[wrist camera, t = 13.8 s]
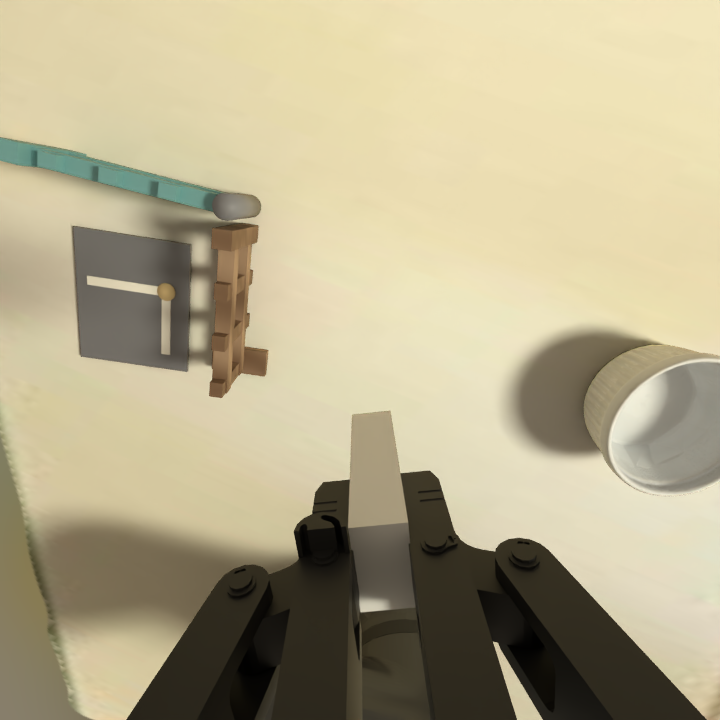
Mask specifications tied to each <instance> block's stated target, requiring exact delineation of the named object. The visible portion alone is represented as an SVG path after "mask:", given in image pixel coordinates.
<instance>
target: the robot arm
mask: <svg viewBox="0 0 720 720" xmlns="http://www.w3.org/2000/svg"><path fill="white" fill-rule="evenodd" d="M312 513H313V514H312V515H310V516H308V517H306V518H304V519H303V520H301V521H300V522H299V523H298V524H297V526H296V528H295V530H294V535H295V540H296V545H297V551H298V556H299V560H298V561H297V562H296V563H294V564H293V565H291V566H290V567H288V568H286V569H283V570H281V571H278V572H275V573H272V574H270V575H268V572H267V571H266V570H265V569H264V568H263V567H260V566H257V565H244V566H241V567H238V568H235V569H233V570H232V571H230V572H229V573H227V574H225V575H224V576H223V577H222V579H221V580H220V581H219V582H218V583H217V585H216V586H215V588H214V589H213V591H212V592H211V594H210V595H209V597H208V598H207V600H206V601H205V603H204V604H203V606H202V607H201V609H200V610H199V612H198V613H197V615H196V616H195V618H194V619H193V621H192V622H191V624H190V625H189V627H188V628H187V630H186V631H185V633H184V634H183V636H182V637H181V639H180V640H179V642H178V643H177V645H176V646H175V648H174V649H173V651H172V652H171V654H170V655H169V657H168V658H167V660H166V661H165V663H164V664H163V666H162V667H161V669H160V670H159V672H158V673H157V675H156V676H155V678H154V679H153V681H152V682H151V684H150V685H149V687H148V688H147V690H146V691H145V693H144V694H143V696H142V697H141V699H140V700H139V702H138V703H137V705H136V706H135V708H134V709H133V711H132V712H131V714H130V715H129V717H128V718H127V720H517V718H516V715H515V712H514V709H513V705H512V702H511V699H510V696H509V692H508V689H507V686H506V683H505V680H504V676H503V673H502V670H501V667H500V663H499V660H498V657H497V654H496V651H495V647H494V644H493V642H498V643H499V646H500V649H501V650H502V652H503V654H504V655H505V657H506V659H507V660H508V662H509V664H510V665H511V667H512V669H513V670H514V672H515V674H516V675H517V677H518V679H519V680H520V682H521V684H522V685H523V687H524V689H525V690H526V692H527V694H528V695H529V697H530V699H531V700H532V702H533V704H534V705H535V707H536V709H537V710H538V712H539V714H540V715H541V717H542V719H543V720H706V718H705V717H704V716H703V715H702V714H701V713H700V712H699V711H698V710H697V709H696V708H695V707H694V706H693V705H692V703H691V702H690V701H689V700H688V699H687V698H686V697H685V696H684V695H683V694H682V693H681V692H680V691H679V690H678V688H677V687H676V686H675V685H674V684H673V683H672V682H671V681H670V680H669V679H668V678H667V677H666V676H665V675H664V673H663V672H662V671H661V670H660V669H659V668H658V667H657V666H656V665H655V664H654V663H653V662H652V661H651V660H650V658H649V657H648V656H647V655H646V654H645V653H644V652H643V651H642V650H641V649H640V648H639V647H638V646H637V645H636V643H635V642H634V641H633V640H632V639H631V638H630V637H629V636H628V635H627V634H626V633H625V632H624V631H623V630H622V628H621V627H620V626H619V625H618V624H617V623H616V622H615V621H614V620H613V619H612V618H611V617H610V616H609V615H608V613H607V612H606V611H605V610H604V609H603V608H602V607H601V606H600V605H599V604H598V603H597V602H596V601H595V599H594V598H593V597H592V596H591V595H590V594H589V593H588V592H587V591H586V590H585V589H584V588H583V587H582V586H581V584H580V583H579V582H578V581H577V580H576V579H575V578H574V577H573V576H572V575H571V574H570V573H569V572H568V571H567V569H566V568H565V567H564V566H563V565H562V564H561V563H560V562H559V561H558V560H557V559H556V558H555V557H554V556H553V554H552V553H551V552H550V551H549V550H548V549H546V548H545V547H544V546H542V545H541V544H540V543H537V542H535V541H532V540H530V539H523V538H514V539H508V540H506V541H504V542H502V543H500V544H499V546H498V547H497V548H496V552H494V551H487V550H481V549H477V548H474V547H471V546H469V545H467V544H465V543H464V542H463V541H461V540H460V538H459V537H458V535H457V534H456V533H455V531H454V528H453V525H452V522H451V518H450V515H449V512H448V508H447V505H446V502H445V499H444V495H443V492H442V488H441V485H440V482H439V479H438V478H437V477H436V476H435V475H434V474H433V473H432V472H431V471H420V472H410V473H400V468H399V462H398V455H397V449H396V443H395V437H394V430H393V424H392V418H391V412H390V411H383V412H373V413H364V414H354V415H352V431H351V459H350V480H342V481H332V482H323V483H322V485H321V486H320V487H319V488H318V490H317V491H316V492H315V498H314V505H313V511H312Z"/></svg>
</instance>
